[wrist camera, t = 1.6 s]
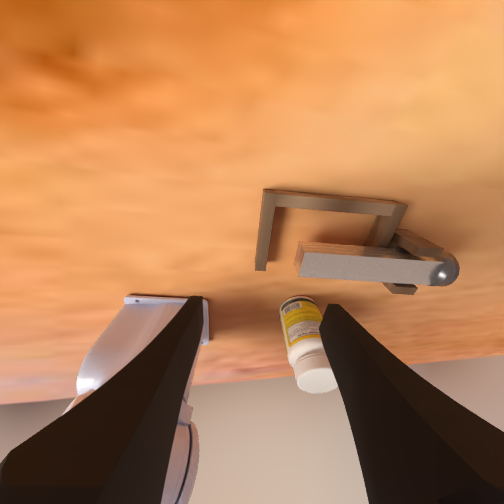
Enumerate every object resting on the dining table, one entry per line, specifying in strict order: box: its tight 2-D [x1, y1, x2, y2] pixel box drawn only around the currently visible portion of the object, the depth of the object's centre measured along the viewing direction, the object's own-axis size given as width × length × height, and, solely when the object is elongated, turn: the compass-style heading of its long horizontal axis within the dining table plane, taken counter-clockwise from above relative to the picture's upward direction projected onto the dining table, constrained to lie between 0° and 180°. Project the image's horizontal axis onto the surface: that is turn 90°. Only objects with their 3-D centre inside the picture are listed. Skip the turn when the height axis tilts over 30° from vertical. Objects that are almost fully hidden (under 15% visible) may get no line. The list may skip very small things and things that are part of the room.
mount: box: [255, 189, 443, 295], centre depth 17 cm, size 14×8×4 cm, turn 85°
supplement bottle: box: [279, 296, 338, 393], centre depth 20 cm, size 5×5×8 cm
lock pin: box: [294, 241, 459, 286], centre depth 17 cm, size 13×3×3 cm, turn 85°
